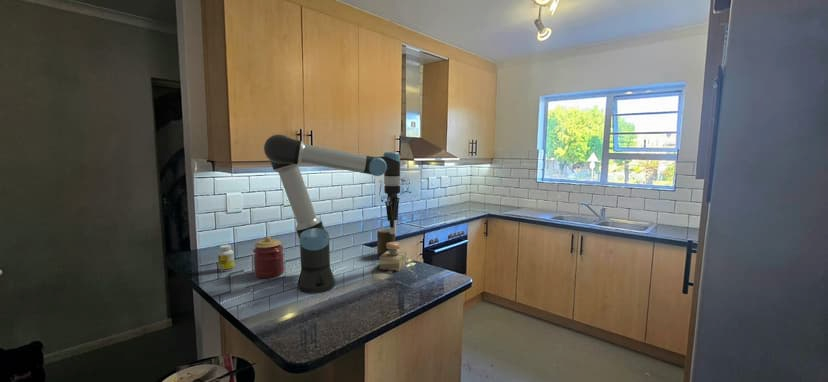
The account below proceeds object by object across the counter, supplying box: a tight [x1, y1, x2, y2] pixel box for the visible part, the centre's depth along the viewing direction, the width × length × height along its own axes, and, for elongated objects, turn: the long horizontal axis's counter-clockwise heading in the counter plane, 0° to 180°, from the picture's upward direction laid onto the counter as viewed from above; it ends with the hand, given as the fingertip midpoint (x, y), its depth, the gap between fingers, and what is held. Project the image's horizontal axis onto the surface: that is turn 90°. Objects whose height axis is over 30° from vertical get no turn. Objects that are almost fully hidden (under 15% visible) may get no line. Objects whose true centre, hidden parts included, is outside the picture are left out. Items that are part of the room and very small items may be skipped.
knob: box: [386, 241, 400, 257], centre depth 169 cm, size 6×6×8 cm
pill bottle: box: [217, 244, 235, 272], centre depth 165 cm, size 6×6×12 cm
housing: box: [378, 251, 407, 272], centre depth 169 cm, size 10×10×6 cm
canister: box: [252, 235, 285, 279], centre depth 160 cm, size 13×13×18 cm
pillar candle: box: [376, 228, 396, 258], centre depth 187 cm, size 10×10×15 cm
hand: (392, 233), depth 167 cm, fingers closed
